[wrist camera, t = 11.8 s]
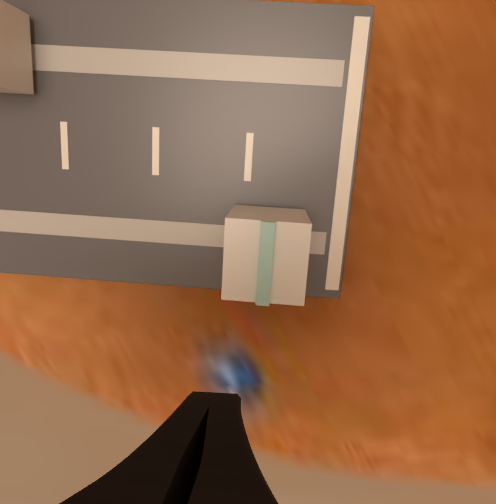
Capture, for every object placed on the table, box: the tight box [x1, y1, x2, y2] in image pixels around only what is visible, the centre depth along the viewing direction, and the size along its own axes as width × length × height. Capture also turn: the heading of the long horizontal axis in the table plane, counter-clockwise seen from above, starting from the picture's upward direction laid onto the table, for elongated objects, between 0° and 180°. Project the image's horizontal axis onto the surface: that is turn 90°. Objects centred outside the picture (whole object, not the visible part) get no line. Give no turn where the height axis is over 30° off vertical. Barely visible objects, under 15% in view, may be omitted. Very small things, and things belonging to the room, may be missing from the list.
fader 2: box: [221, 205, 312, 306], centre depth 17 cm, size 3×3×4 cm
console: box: [0, 0, 374, 299], centre depth 19 cm, size 17×12×2 cm
